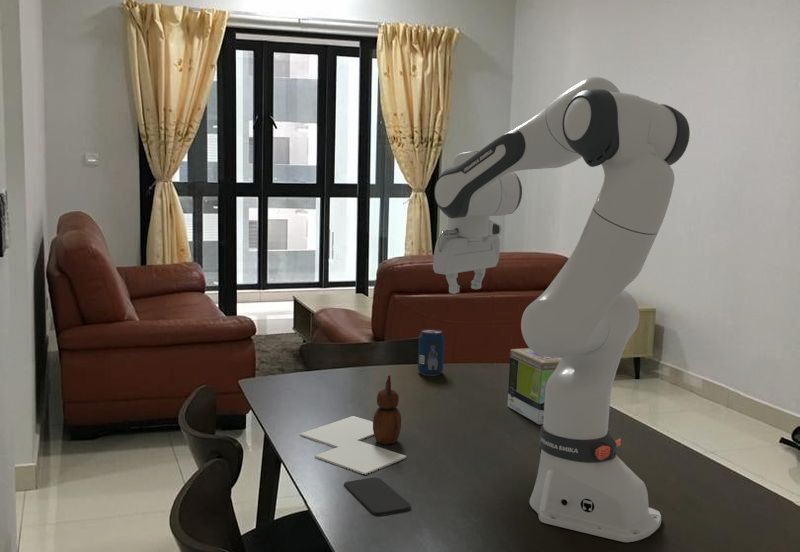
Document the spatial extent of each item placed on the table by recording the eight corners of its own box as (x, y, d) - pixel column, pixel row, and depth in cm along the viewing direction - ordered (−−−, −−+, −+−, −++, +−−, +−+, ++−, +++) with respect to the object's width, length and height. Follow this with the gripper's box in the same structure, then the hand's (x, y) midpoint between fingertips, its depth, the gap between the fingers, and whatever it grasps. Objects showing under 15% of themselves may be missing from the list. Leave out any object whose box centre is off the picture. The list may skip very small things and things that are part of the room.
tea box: (575, 422, 198) (579, 360, 195) (537, 426, 194) (541, 363, 192) (541, 403, 211) (544, 345, 209) (505, 406, 208) (508, 347, 205)
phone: (378, 476, 161) (413, 506, 147) (378, 480, 161) (413, 511, 147) (341, 482, 157) (374, 513, 144) (341, 486, 157) (374, 518, 144)
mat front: (391, 428, 189) (391, 427, 189) (338, 448, 176) (338, 446, 176) (353, 417, 196) (353, 415, 196) (299, 435, 183) (299, 433, 183)
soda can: (431, 368, 241) (432, 327, 239) (447, 374, 236) (449, 331, 234) (412, 372, 237) (413, 330, 235) (429, 377, 231) (430, 334, 230)
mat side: (406, 457, 172) (406, 455, 171) (365, 475, 162) (365, 473, 162) (356, 441, 180) (356, 440, 180) (314, 457, 170) (314, 455, 170)
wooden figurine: (396, 448, 177) (398, 378, 174) (369, 445, 178) (371, 376, 176) (403, 437, 183) (405, 370, 181) (377, 435, 184) (378, 368, 182)
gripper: (451, 231, 172) (448, 298, 174) (505, 226, 188) (502, 287, 190) (427, 228, 176) (424, 294, 178) (482, 223, 192) (479, 284, 194)
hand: (465, 291), depth 184 cm, fingers open, 7 cm apart
